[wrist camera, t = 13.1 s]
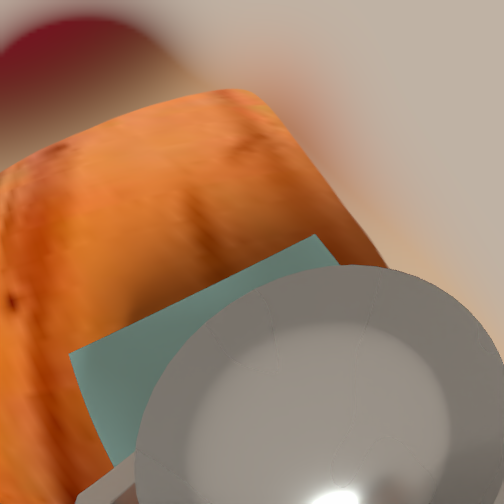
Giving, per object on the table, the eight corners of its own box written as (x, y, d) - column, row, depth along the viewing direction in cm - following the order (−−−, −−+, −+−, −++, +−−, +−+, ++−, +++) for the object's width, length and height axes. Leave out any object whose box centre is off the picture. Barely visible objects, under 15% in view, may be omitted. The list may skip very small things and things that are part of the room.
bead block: (407, 442, 14) (461, 442, 9) (221, 552, 10) (212, 596, 5) (297, 283, 20) (315, 233, 15) (115, 375, 17) (68, 354, 11)
